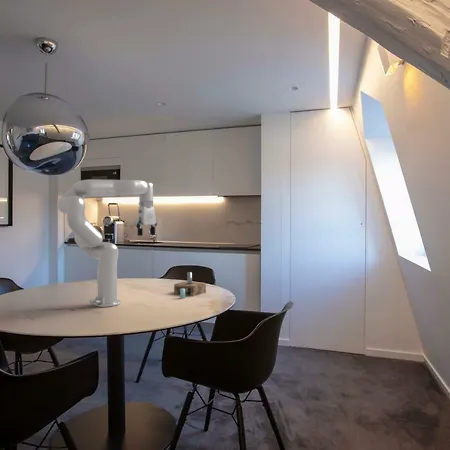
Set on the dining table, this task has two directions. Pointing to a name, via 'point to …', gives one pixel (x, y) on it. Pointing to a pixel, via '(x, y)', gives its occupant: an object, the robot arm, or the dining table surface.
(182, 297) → the short pin
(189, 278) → the long pin
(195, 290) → the bridge
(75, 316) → the dining table surface
